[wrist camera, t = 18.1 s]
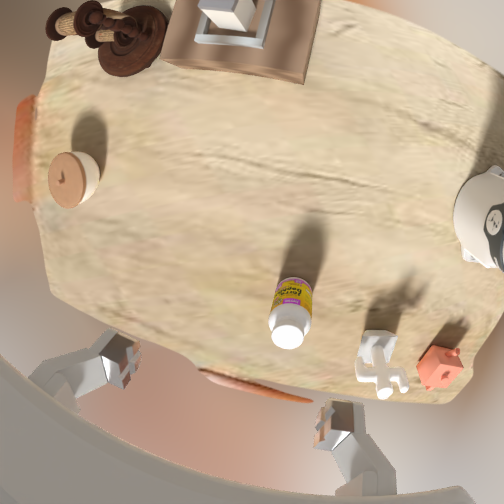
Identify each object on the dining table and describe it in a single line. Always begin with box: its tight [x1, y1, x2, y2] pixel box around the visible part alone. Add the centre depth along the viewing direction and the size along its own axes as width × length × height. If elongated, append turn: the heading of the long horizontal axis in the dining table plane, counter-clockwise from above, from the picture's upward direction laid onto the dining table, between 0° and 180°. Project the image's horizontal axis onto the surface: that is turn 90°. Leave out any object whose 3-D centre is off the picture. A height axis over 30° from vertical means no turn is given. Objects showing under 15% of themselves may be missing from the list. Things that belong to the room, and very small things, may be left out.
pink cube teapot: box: [416, 345, 464, 391], centre depth 47 cm, size 8×12×8 cm, turn 166°
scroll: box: [46, 0, 168, 77], centre depth 28 cm, size 15×15×20 cm
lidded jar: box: [48, 151, 100, 208], centre depth 45 cm, size 11×11×9 cm
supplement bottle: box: [269, 277, 312, 349], centre depth 45 cm, size 7×7×13 cm
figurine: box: [355, 330, 409, 399], centre depth 45 cm, size 7×9×15 cm
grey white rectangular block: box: [198, 0, 256, 32], centre depth 23 cm, size 4×4×8 cm
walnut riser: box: [160, 0, 321, 85], centre depth 30 cm, size 20×14×10 cm
